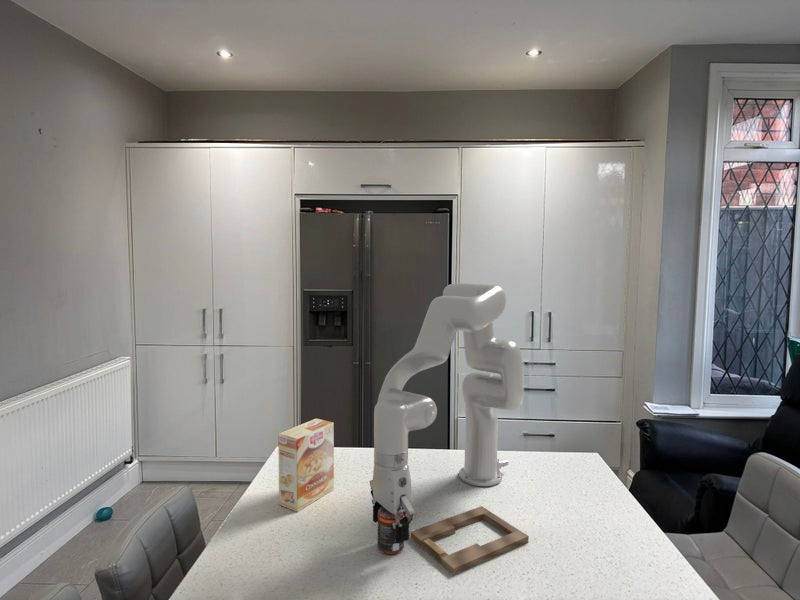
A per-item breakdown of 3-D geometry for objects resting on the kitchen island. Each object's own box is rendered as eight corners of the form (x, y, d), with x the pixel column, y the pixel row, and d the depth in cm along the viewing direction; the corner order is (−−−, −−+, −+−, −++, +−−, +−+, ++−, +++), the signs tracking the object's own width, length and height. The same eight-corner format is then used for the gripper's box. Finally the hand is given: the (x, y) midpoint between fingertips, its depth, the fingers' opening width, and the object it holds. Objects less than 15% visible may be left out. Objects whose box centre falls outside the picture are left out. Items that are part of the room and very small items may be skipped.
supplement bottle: (403, 556, 108) (404, 507, 107) (376, 556, 108) (376, 506, 107) (404, 540, 114) (404, 493, 113) (378, 540, 114) (378, 493, 113)
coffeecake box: (297, 512, 126) (296, 439, 124) (277, 505, 130) (276, 433, 128) (335, 489, 139) (334, 421, 137) (316, 482, 143) (315, 417, 141)
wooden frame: (481, 511, 127) (481, 504, 127) (528, 542, 114) (528, 534, 114) (410, 537, 115) (410, 530, 115) (453, 575, 102) (453, 567, 102)
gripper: (427, 467, 104) (426, 544, 106) (385, 441, 119) (385, 509, 120) (397, 475, 100) (396, 555, 102) (357, 447, 115) (357, 517, 116)
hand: (390, 530), depth 111 cm, fingers open, 9 cm apart
